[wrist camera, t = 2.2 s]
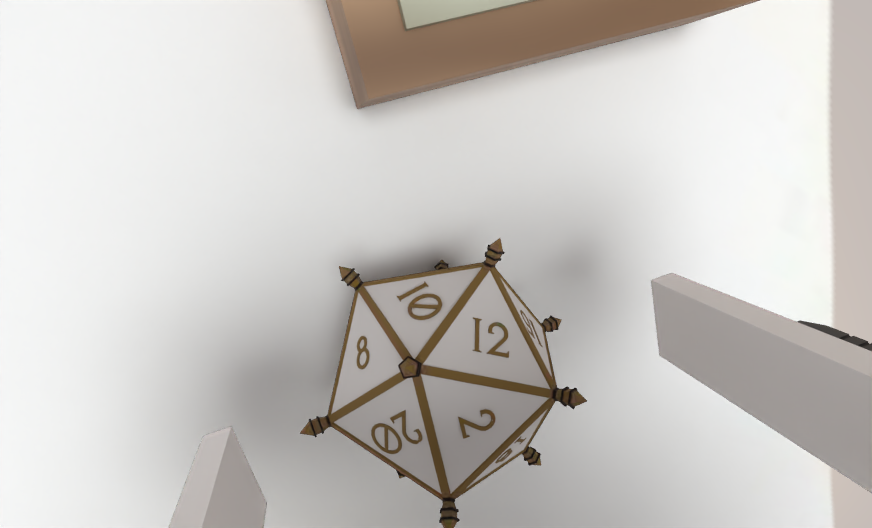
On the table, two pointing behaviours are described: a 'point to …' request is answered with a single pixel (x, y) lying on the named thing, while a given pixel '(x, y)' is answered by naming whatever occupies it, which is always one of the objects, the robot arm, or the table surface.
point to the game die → (444, 376)
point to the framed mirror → (485, 36)
